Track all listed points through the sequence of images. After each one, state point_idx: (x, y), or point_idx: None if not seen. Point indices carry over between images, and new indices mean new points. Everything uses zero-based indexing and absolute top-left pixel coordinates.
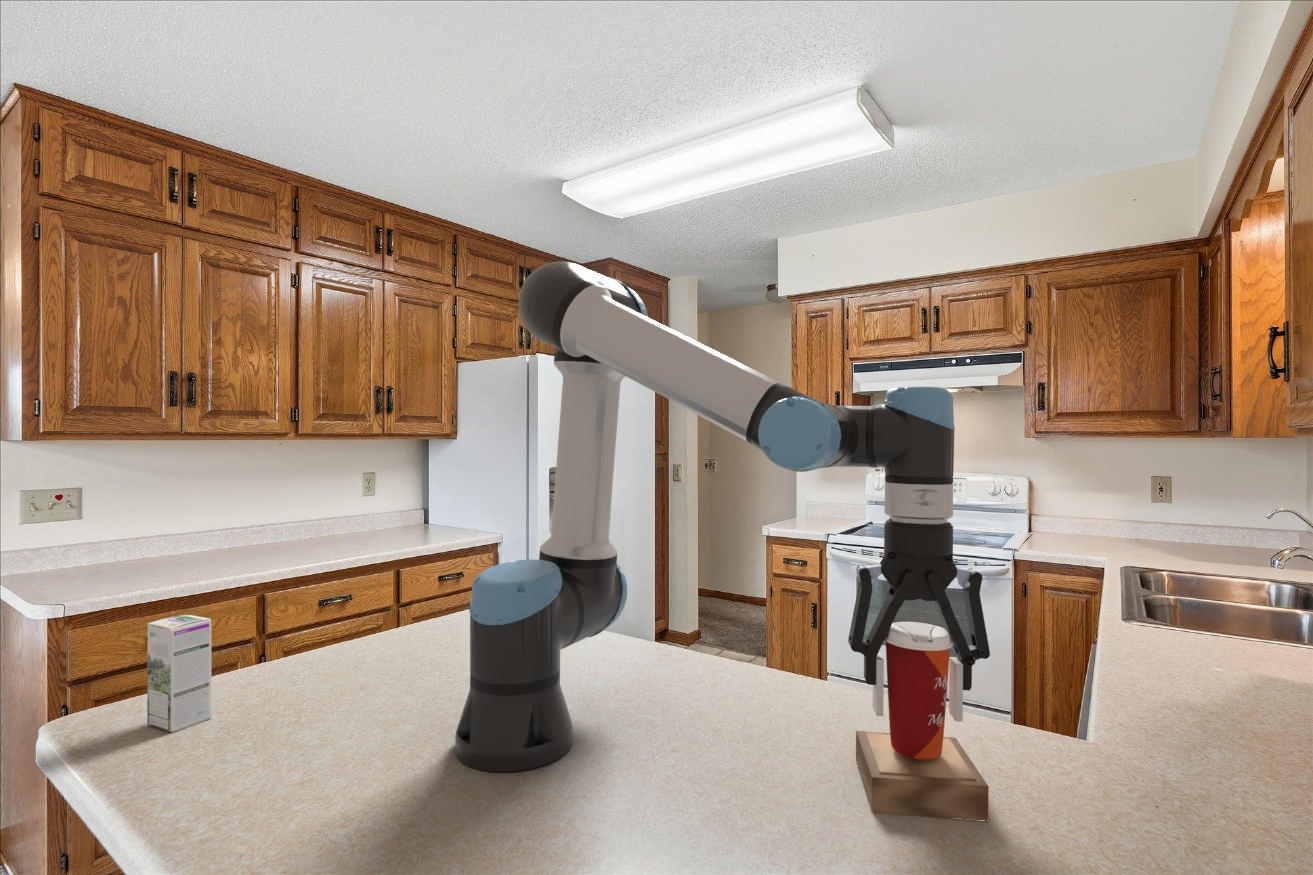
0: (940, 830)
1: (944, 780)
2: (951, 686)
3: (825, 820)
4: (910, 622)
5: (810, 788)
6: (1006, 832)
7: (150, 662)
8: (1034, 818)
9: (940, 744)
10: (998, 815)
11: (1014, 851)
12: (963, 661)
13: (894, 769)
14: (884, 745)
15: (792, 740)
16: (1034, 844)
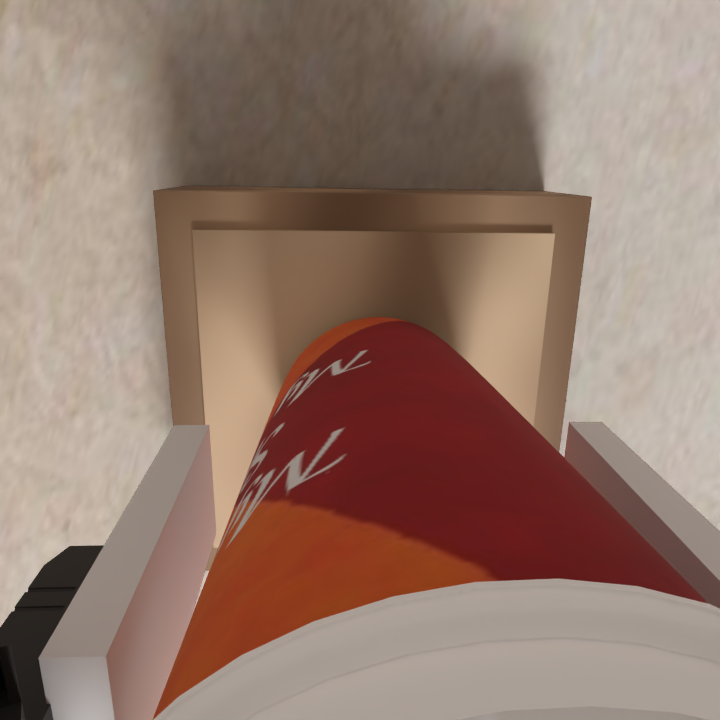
0: (352, 109)
1: (315, 212)
2: (180, 594)
3: (705, 115)
4: None
5: (699, 309)
6: (141, 130)
7: None
8: (27, 234)
9: (296, 364)
10: (140, 235)
11: (144, 10)
12: (19, 693)
13: (493, 258)
14: None
15: None
16: (67, 66)
